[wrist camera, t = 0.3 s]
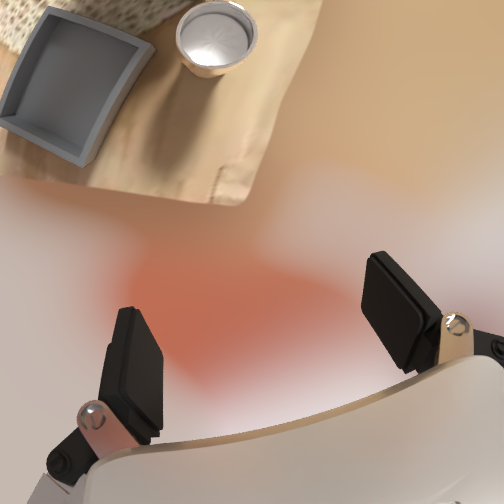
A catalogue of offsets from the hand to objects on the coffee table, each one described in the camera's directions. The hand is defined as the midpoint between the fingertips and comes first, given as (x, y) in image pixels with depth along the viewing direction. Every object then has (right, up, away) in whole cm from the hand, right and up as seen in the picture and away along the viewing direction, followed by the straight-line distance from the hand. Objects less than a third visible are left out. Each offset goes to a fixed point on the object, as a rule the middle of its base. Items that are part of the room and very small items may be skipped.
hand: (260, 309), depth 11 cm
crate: (-24, +25, +16) cm, 38 cm away
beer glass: (-6, +27, +19) cm, 34 cm away
